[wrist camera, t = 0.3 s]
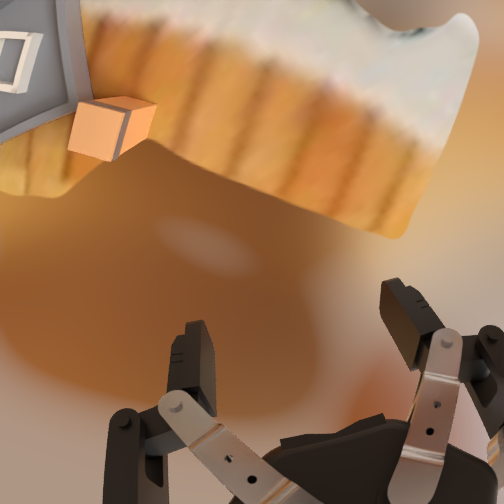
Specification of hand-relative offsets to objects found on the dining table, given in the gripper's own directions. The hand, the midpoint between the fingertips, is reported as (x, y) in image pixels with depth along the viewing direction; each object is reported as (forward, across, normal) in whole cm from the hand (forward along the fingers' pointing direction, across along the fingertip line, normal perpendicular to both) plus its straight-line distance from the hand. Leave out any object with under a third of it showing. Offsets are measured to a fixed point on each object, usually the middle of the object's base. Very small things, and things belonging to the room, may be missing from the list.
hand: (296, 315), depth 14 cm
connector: (+29, +12, -8) cm, 33 cm away
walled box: (+30, +28, -23) cm, 47 cm away
